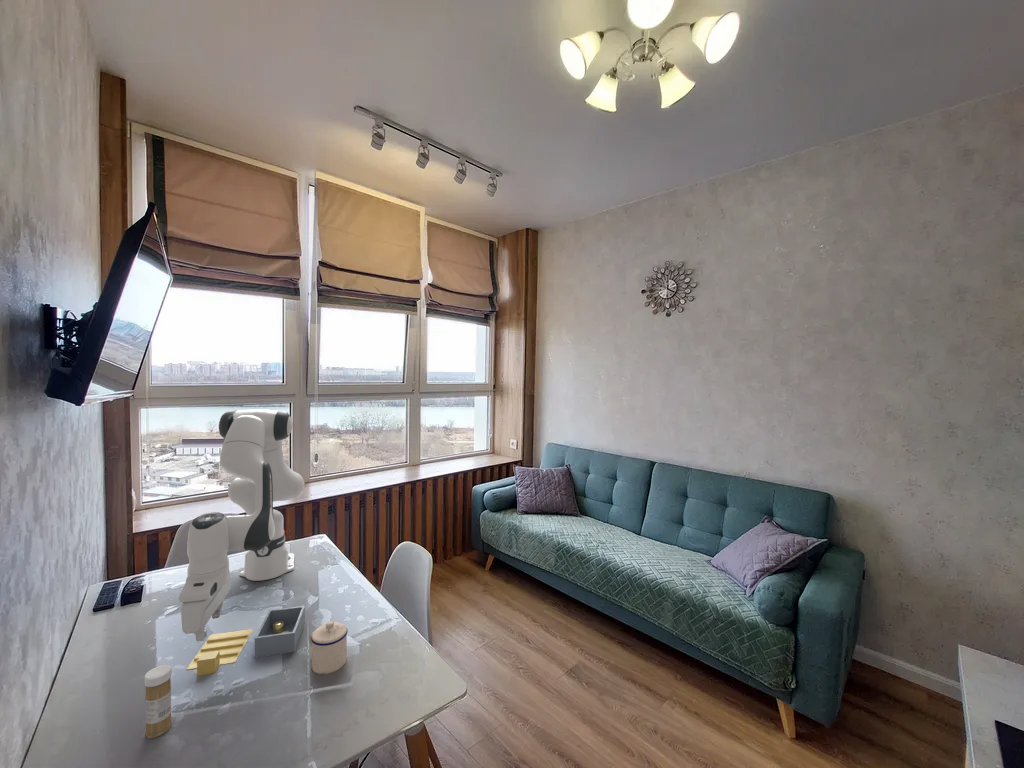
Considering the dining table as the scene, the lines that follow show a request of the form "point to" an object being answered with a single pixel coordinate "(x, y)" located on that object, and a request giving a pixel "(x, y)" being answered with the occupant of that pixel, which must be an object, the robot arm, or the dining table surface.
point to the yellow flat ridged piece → (219, 651)
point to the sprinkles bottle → (158, 701)
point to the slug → (278, 627)
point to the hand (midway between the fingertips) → (209, 627)
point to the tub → (284, 641)
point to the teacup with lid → (329, 647)
